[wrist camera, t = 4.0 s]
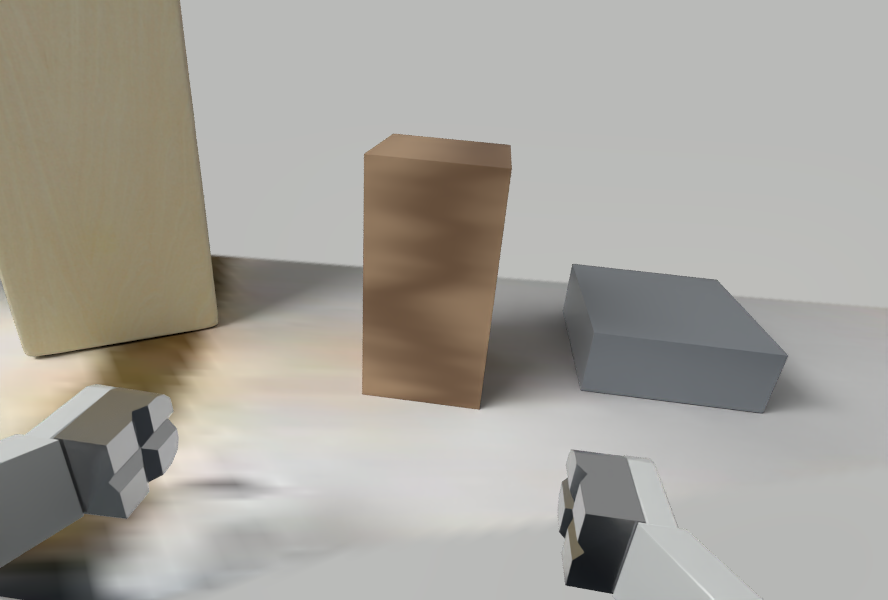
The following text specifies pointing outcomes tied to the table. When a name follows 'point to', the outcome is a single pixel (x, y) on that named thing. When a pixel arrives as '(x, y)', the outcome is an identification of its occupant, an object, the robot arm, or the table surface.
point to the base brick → (668, 339)
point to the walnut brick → (431, 265)
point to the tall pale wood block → (99, 175)
